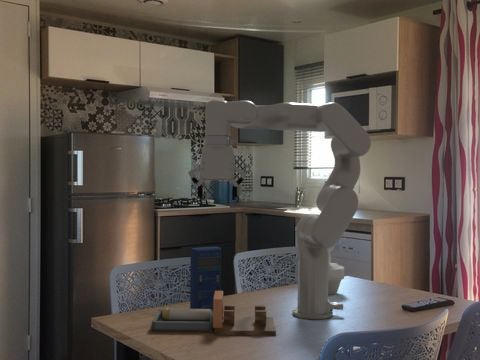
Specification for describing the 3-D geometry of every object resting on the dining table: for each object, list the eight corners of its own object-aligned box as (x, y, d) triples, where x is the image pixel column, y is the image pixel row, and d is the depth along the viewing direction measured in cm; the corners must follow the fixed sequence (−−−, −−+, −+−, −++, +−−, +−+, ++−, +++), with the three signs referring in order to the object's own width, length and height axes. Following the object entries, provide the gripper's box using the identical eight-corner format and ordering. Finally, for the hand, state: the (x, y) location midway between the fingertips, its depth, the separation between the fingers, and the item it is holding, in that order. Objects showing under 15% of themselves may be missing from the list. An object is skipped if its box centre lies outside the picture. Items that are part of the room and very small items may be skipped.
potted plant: (346, 296, 196) (347, 227, 196) (314, 296, 196) (315, 227, 196) (340, 289, 209) (341, 224, 208) (310, 288, 209) (311, 223, 208)
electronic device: (195, 313, 172) (196, 249, 171) (188, 309, 176) (189, 247, 176) (222, 309, 177) (222, 247, 176) (214, 306, 181) (215, 245, 181)
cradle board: (272, 321, 163) (272, 302, 163) (275, 335, 149) (276, 315, 149) (216, 320, 163) (216, 302, 163) (213, 334, 149) (214, 314, 149)
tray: (214, 319, 165) (214, 310, 165) (212, 332, 152) (212, 322, 152) (158, 318, 165) (158, 310, 165) (151, 331, 152) (151, 322, 152)
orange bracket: (222, 318, 162) (223, 290, 161) (221, 328, 151) (222, 299, 151) (214, 317, 162) (215, 290, 161) (213, 328, 151) (213, 299, 151)
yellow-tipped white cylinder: (209, 322, 159) (210, 320, 163) (210, 309, 160) (210, 308, 163) (161, 321, 159) (163, 319, 163) (162, 308, 160) (164, 307, 163)
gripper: (246, 143, 166) (246, 199, 167) (190, 142, 166) (189, 198, 167) (247, 142, 159) (246, 200, 159) (187, 141, 159) (187, 200, 159)
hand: (217, 199), depth 163 cm, fingers open, 9 cm apart
